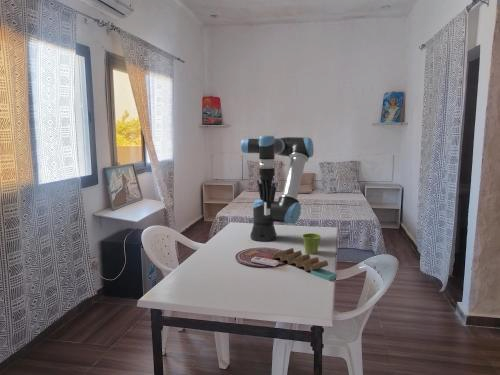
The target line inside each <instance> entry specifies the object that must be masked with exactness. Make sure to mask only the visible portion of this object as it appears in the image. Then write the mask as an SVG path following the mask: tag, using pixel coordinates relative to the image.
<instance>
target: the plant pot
mask: <svg viewBox="0 0 500 375" xmlns="http://www.w3.org/2000/svg"><path fill="white" fill-rule="evenodd" d="M301 237H302V239H303V244H304V245H303V246H304V252H305V253H306V254H309V255H313V254H317V253H318V252H319V251H318V250H319V244H320V241H321V238H322V236H321V235H320V234H318V233H304V234H302V235H301Z"/></svg>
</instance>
